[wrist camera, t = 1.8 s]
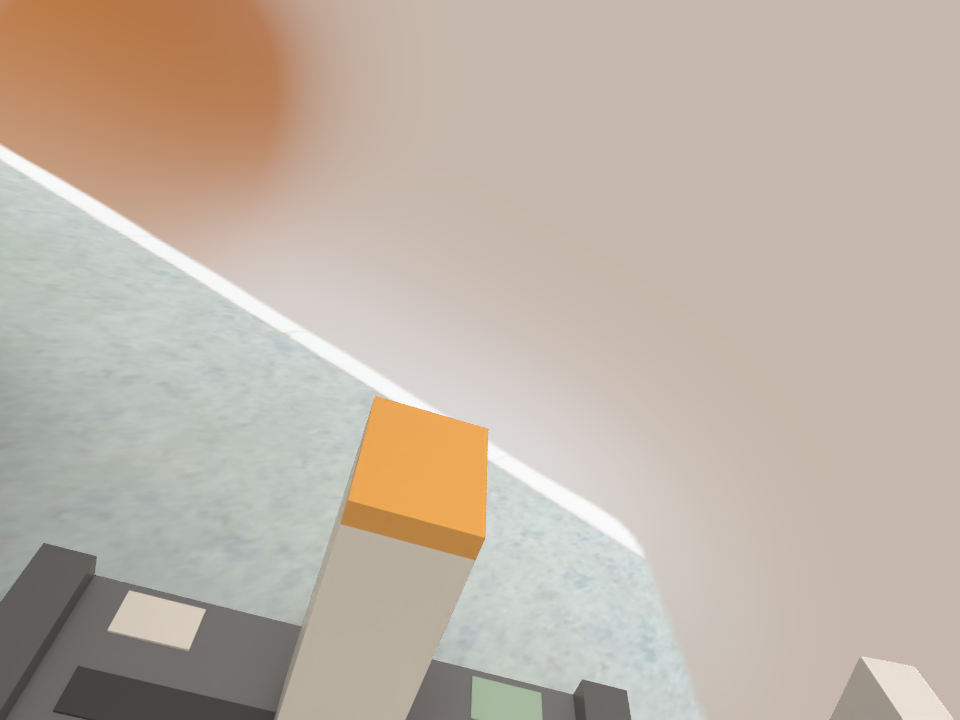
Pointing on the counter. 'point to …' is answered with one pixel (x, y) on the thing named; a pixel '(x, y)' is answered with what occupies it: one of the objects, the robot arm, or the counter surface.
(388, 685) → the handle
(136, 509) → the counter surface
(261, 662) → the dark grey slider track
